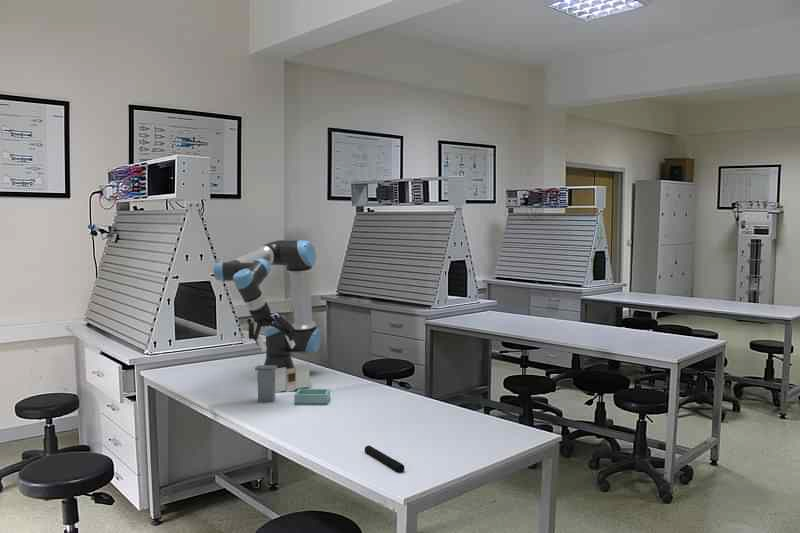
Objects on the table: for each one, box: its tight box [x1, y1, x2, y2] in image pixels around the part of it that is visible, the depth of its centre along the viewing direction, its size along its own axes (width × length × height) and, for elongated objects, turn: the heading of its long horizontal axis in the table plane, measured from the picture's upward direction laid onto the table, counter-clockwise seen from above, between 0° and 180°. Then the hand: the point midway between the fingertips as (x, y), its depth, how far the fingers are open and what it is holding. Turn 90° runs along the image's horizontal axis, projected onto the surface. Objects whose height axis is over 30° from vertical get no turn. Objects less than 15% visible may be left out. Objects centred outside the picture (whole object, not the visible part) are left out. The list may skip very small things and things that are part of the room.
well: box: [293, 388, 331, 406], centre depth 247 cm, size 9×13×4 cm
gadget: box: [364, 445, 405, 474], centre depth 185 cm, size 2×2×20 cm
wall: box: [275, 363, 311, 393], centre depth 269 cm, size 16×9×15 cm
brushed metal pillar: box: [254, 364, 277, 403], centre depth 248 cm, size 4×8×14 cm, turn 89°
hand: (279, 348), depth 249 cm, fingers open, 13 cm apart
